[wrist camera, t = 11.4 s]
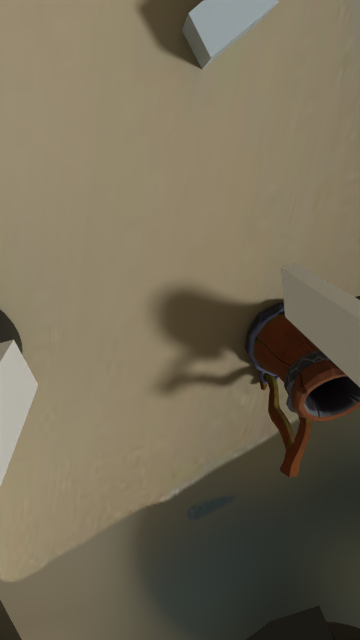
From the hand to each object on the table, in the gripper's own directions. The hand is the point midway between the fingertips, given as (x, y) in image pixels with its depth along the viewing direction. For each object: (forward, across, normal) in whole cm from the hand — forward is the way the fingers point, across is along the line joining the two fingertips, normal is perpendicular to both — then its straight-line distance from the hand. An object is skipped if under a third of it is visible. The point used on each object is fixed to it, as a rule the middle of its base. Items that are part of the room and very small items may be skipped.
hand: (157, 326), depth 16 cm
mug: (+25, +15, -23) cm, 37 cm away
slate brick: (+25, +13, +16) cm, 33 cm away
